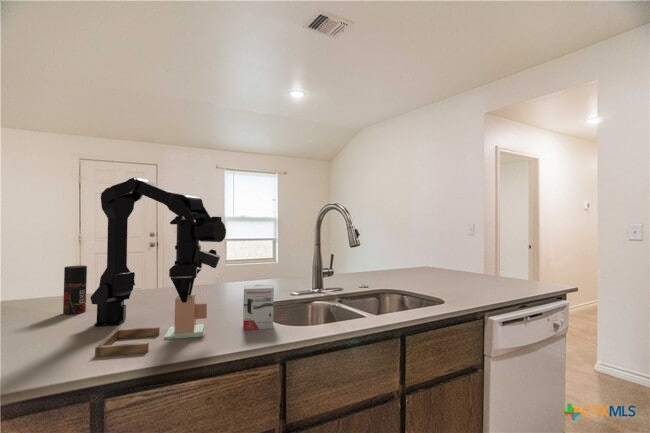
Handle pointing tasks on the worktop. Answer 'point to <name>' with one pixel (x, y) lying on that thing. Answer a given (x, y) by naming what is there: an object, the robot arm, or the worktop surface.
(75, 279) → the deodorant
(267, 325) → the ink box
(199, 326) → the green mat
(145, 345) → the walnut cradle
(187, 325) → the block with side knob
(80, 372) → the worktop surface
